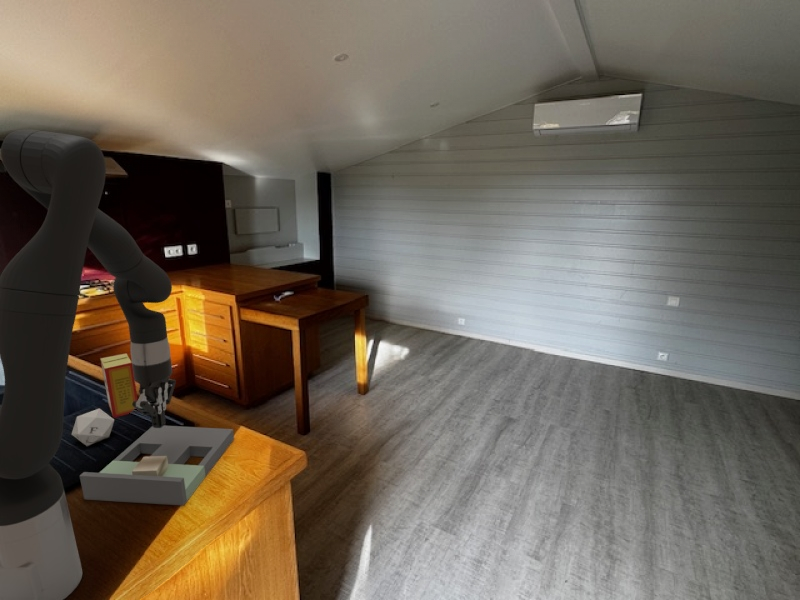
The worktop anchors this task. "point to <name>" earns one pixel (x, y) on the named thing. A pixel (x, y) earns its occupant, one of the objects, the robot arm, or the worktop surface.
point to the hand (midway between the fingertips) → (159, 426)
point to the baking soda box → (119, 384)
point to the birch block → (151, 466)
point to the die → (92, 427)
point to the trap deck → (176, 479)
